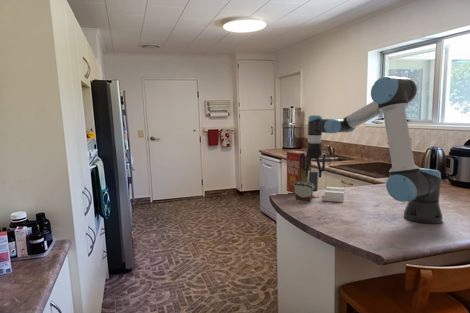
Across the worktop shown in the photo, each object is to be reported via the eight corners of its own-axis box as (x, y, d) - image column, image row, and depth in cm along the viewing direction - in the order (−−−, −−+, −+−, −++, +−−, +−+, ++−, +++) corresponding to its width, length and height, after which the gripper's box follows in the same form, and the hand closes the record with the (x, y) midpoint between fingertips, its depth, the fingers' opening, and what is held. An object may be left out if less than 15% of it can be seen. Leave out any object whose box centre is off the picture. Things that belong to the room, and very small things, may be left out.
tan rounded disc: (318, 198, 182) (318, 197, 182) (306, 197, 185) (306, 196, 185) (320, 195, 189) (320, 194, 189) (308, 194, 191) (308, 193, 191)
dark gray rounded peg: (316, 191, 183) (317, 172, 182) (308, 191, 185) (308, 172, 184) (317, 190, 188) (318, 171, 186) (309, 189, 189) (310, 171, 188)
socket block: (343, 202, 174) (343, 193, 173) (324, 200, 177) (324, 191, 177) (344, 196, 186) (344, 187, 186) (326, 194, 190) (326, 186, 189)
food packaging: (285, 190, 201) (286, 151, 198) (297, 188, 206) (297, 150, 202) (299, 195, 190) (300, 153, 186) (311, 193, 194) (312, 152, 191)
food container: (318, 201, 177) (318, 183, 175) (312, 203, 172) (313, 185, 171) (298, 197, 185) (299, 180, 184) (293, 199, 180) (293, 182, 179)
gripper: (331, 142, 183) (329, 182, 186) (299, 141, 189) (299, 180, 192) (330, 143, 176) (328, 185, 179) (297, 142, 182) (296, 182, 185)
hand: (313, 182), depth 186 cm, fingers closed on dark gray rounded peg, 5 cm apart
